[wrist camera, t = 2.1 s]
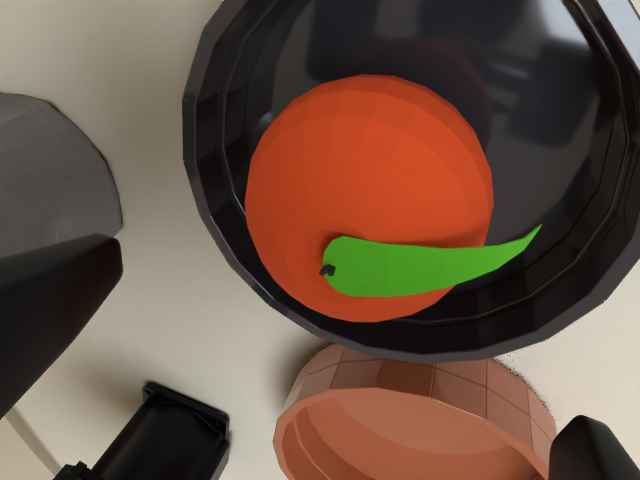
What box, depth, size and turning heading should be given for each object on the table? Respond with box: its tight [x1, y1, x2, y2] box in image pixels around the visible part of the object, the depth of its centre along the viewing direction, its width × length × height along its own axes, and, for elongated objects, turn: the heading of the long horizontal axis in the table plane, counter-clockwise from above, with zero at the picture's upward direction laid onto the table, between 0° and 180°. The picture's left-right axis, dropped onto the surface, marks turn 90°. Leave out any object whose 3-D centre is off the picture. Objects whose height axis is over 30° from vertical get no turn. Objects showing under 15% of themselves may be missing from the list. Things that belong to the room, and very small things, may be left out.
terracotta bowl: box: [273, 343, 558, 480], centre depth 22 cm, size 14×14×4 cm
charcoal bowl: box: [182, 0, 640, 364], centre depth 14 cm, size 14×14×4 cm
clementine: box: [245, 74, 542, 322], centre depth 12 cm, size 8×7×7 cm
